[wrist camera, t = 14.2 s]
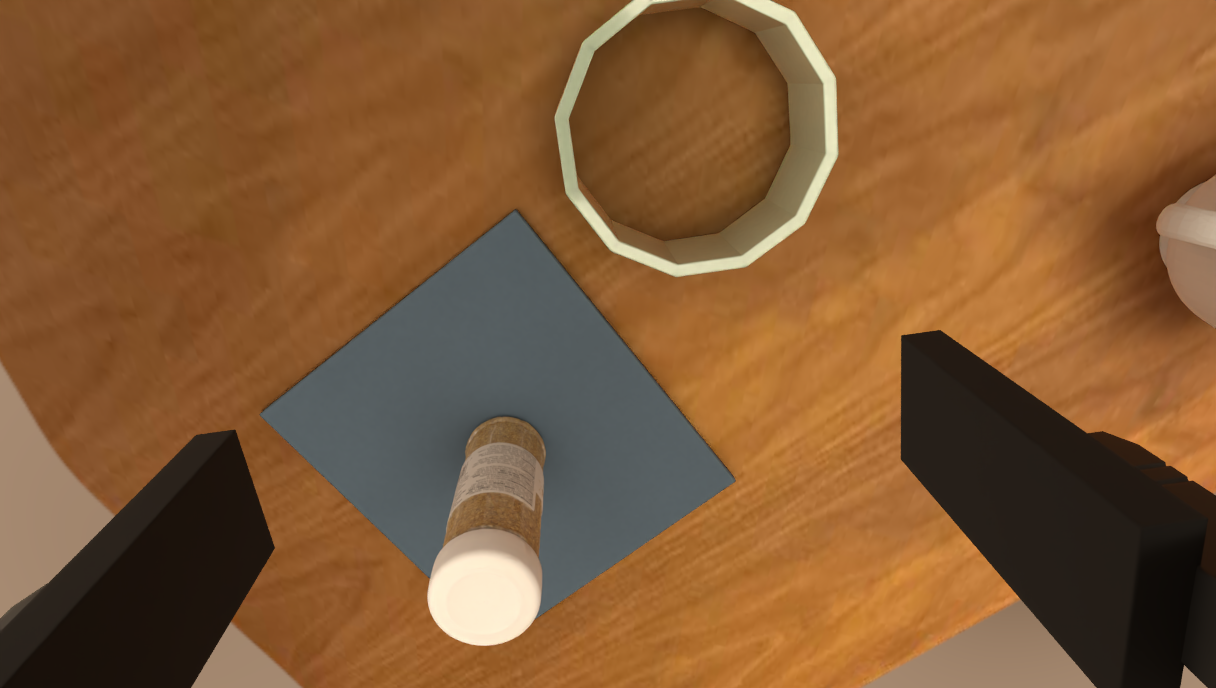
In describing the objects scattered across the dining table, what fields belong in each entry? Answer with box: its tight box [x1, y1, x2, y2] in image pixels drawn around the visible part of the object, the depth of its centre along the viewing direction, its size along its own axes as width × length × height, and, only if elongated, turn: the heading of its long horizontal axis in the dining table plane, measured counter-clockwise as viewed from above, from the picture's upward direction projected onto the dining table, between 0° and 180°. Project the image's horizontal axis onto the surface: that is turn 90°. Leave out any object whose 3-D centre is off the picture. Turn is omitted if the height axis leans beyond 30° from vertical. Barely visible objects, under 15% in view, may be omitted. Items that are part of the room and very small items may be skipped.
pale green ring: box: [555, 0, 838, 277], centre depth 36 cm, size 12×12×6 cm
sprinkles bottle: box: [428, 417, 546, 646], centre depth 37 cm, size 5×5×13 cm
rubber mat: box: [260, 209, 735, 620], centre depth 43 cm, size 20×18×1 cm
